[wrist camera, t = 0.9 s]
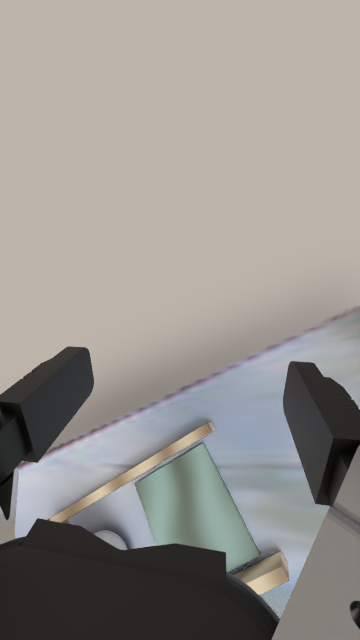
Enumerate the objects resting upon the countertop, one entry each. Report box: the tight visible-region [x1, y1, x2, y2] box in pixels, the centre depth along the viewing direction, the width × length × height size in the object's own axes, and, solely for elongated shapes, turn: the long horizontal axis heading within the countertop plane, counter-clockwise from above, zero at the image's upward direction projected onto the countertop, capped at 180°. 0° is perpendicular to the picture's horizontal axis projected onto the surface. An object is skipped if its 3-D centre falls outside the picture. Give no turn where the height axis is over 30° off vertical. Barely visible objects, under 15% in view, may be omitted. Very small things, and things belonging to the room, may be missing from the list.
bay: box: [48, 422, 289, 595], centre depth 26 cm, size 24×14×4 cm, turn 119°
